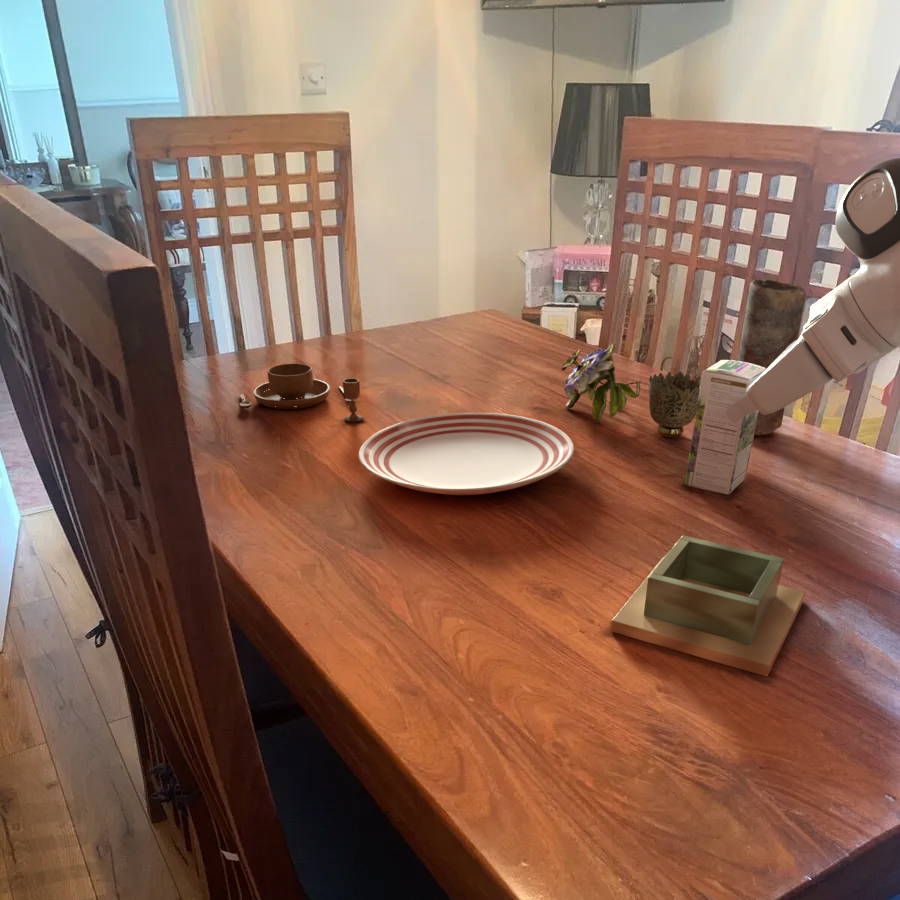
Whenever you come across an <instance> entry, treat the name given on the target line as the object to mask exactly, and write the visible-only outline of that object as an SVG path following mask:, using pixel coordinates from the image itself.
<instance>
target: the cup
mask: <svg viewBox="0 0 900 900" xmlns="http://www.w3.org/2000/svg"><path fill="white" fill-rule="evenodd" d="M701 379H702V377H700V376H697V377H696V378H695V380H694V379H690V374H689V373H686V374H685V375H684V373H683V372H682V371H678V372H676V373H675V374H673V375H672V373H671V372H670V371H668V372H667V373H666V375H665V376H664V374H663V373H662V372H659V373H658V374H657V373H655V374H653V376H652V375H649V378H648V407H649V414H650V418H651V419H652V420H653V421H654V423H656V424H657V425H658V426H657V428H656V430H657V433H658V435H659V436H661V437H663V438H666V439H676V438H680V437H682V435H683V434H684V432H685V427H686V426H687V425H689V424H690V423H692V422H693V421H694V420H695V417H696V411H697V404H698V398H699V392H700V386H701Z"/></svg>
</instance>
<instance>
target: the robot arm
mask: <svg viewBox="0 0 900 900" xmlns="http://www.w3.org/2000/svg"><path fill="white" fill-rule="evenodd" d="M836 209H837V210H836V214H835V225H834V226H835V231H836V233H837V235H838V237H839V238H840V240H841V242H842V243H843V246H844V247H845V248H846V249H848V251H850V252H851V253H852V254H853V255H854V256H856V257H857V259H858V262H859V264H860V266H859V269H858V270H857V271H856V273H854V274H853V275H851V276H850V277H849V278H847V279H846V280H844V281H843V282H842V283H841V284H839V285H837V286H836V287H835V288H834V289H832V290H830V291H829V292H828V293H827V294H825V295H824V296H823V297H822V298H820V299H818V300H817V301H816V302H815V303H813V304H812V305H811V306H810V308H809V317H808V320H807V323H805V324H804V325H803V330H802V331H801V334H800V336H798V337H799V338H797V340H796V341H794V342H793V343H792V344H790V345H789V346H788V347H787V348H786V349H785V350H784V351H783V352H782V353H781V354H780V355H779V357H778V358H777V359H776V360H775V361H774V362H773V363H772V364H771V365H770V366H769V367H768V368H767V369H766V370H765V371H764V372H763V373H762V374H761V375H760V376H759V377H758V378H757V379H756V380H755V381H754V382H753V383H752V384H751V385H750V386H749V387H748V388H747V390H746V393H747V394H746V395H745V396H744V397H742V398H741V399H739V400H738V401H737V402H735V403H734V404H732V405H731V406H730V407H729V408H728V409H727V410H726V411H725V412H726V415H727V417H728V418H729V419H730V421H731V422H737V421H739V420H740V419H742V418H743V417H744V416H746V415H748V414H751V413H753V412H755V411H757V410H759V412H760V413H761V414H762V415H768V414H771V413H774V412H776V411H778V410H780V409H782V408H784V407H785V408H786V407H787V406H789V405H792V404H794V403H795V402H797V401H798V400H800V399H802V398H804V397H805V396H807V395H809V394H811V393H813V392H814V391H816V390H818V389H820V388H821V387H823V386H825V385H826V384H828V383H830V382H831V381H832V380H834V381H835V382H836V383H840V382H842V381H844V380H845V379H846V378H848V377H850V376H851V375H853V374H859V373H860V372H862V371H863V370H865V369H866V368H868V367H870V366H871V365H872V364H874V363H876V362H877V361H879V360H881V359H882V358H883V357H885V356H886V355H888V354H890V353H891V352H892V351H894V350H896V349H897V348H899V347H900V157H897V158H896V157H895V158H892V159H891V158H890V159H888V160H884V161H882V162H881V161H880V162H879V163H877V164H875V165H873V166H872V167H870V168H868V169H867V170H865V171H864V172H863V173H861V174H860V175H859V176H858V177H857V178H856V179H854V181H853V182H852V183H851V185H850V186H849V187H848V188H847V189H846V191H845V192H844V194H843V196H842V198H841V199H840V201H839V203H838V206H837V208H836ZM785 408H784V409H785Z"/></svg>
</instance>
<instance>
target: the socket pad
mask: <svg viewBox="0 0 900 900" xmlns="http://www.w3.org/2000/svg"><path fill="white" fill-rule="evenodd" d="M784 563H785V558H784V557H779V556H775V555H770V554H766V553H761V552H758V551H753V550H749V549H743V548H740V547H735V546H731V545H726V544H722V543H718V542H713V541H709V540H705V539H701V538H696V537H692V536H687V535H682V536H681V537H680V538H679V539H678V540H677V541H676V543H675V544H674V545H673V546H672V547H671V548H670V550H669V551H668V552H667V553H666V555H664V556H663V557H661V559H660V560H659V562H658V563H657V564H656V565H655V566H654V567H653V569H652V570H651V572H650V573H649V574H648V575H647V576H646V577H645V579H644V580H643V581H642V582H641V584H640V585H639V586H638V588H637V589H636V590H635V591H634V592H633V593H632V595H631V596H630V597H629V599H628V600H627V601H626V602H625V604H624V605H622V607H621V608H620V610H619V611H618V612H617V613H616V615H615V616H614V617H613V618H612V619H611V623H610V632H611V633H615V634H619V635H622V636H626V637H629V638H632V639H635V640H639V641H643V642H646V643H649V644H652V645H656V646H660V647H662V648H667V649H670V650H674V651H677V652H679V653H683V654H687V655H691V656H695V657H698V658H701V659H704V660H708V661H711V662H715V663H718V664H721V665H726V666H729V667H731V668H735V669H739V670H743V671H746V672H748V673H749V672H750V673H753V674H756V675H759V676H763V677H768V676H769V674H770V672H771V670H772V668H773V665H774V664H775V662H776V659H777V657H778V655H779V653H780V651H781V649H782V647H783V646H784V643H785V641H786V638H787V637H788V635H789V633H790V630H791V628H792V626H793V625H794V623H795V620H796V618H797V615H798V614H799V612H800V609H801V607H802V606H803V604H804V600H805V596H806V591H804V590H802V589H798V588H793V587H789V586H784V585H781V584H780V580H781V575H782V571H783V566H784Z"/></svg>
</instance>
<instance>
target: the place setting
mask: <svg viewBox="0 0 900 900" xmlns="http://www.w3.org/2000/svg"><path fill="white" fill-rule="evenodd" d="M266 371H267V373H266V374H267V379H268V381H267V382H264V383H261V384H258V386H256V387H255V388H254V390H253V396H254V398H255V400H256V401H257V402H258V403H259V404H260V405H263V406H265V407H267V408H269V409H270V408H271V409H276V410H300V409H306V408H309V407H314V406H316V405H318V404H320V403H321V402H324V400H326V399H327V398H328V397H329V395H330V392H331V386H330V385H329V383H328V382H326V381H324V380H320V379H318V378H317V379H316V378H314V374H313V373H314V372H313V368H312V367H311V366H310V365H308V364H305V363H297V362H296V363H295V362H293V363H282V364H277V365H273V366H271V367H270V368H268V369H267V370H266ZM268 389H270V390H268ZM338 389H339V390H340V391H341V393H343V395H344V398H345V399H344V400H345V401H346V402H349V411H350V413H351V414H350V415H347V416H345V417H344V418H343V419H344V421H345V422H346V423H360V422H362V421H363V420H364V416H362V415H359V414H357V409H358V407H357V406H356V400H357V399H358V398H359V397H360V396H361V395H360V394H361V384H360V379H359V378H356V377H348V378H345V379H343V380H342V386H341V385H339V386H338ZM266 390H267V391H266ZM264 391H265V392H264ZM259 395H260V396H259ZM239 397H240V399H241V400H242V399H244V400H242V401H241V402H240V403H239V406H240V407H241V408H243V409H248V408H250V407H252V405H253V403H252V402H251V401H247V400H246V397H245V395H244V394H243V393H240V394H239ZM281 397H282V398H281ZM301 397H302V398H301ZM283 398H285V399H283ZM296 398H298V399H296ZM275 406H276V407H275ZM294 406H297V407H294Z"/></svg>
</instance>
